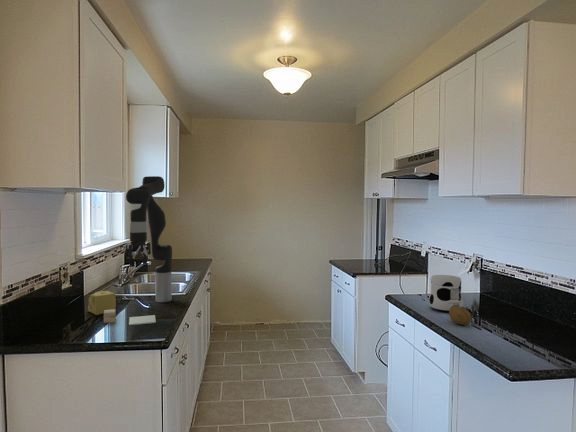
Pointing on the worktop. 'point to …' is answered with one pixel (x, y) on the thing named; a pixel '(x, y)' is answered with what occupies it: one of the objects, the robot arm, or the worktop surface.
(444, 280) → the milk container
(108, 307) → the cheese
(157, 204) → the robot arm
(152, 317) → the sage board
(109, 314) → the oak block
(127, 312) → the worktop surface
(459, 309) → the potato
